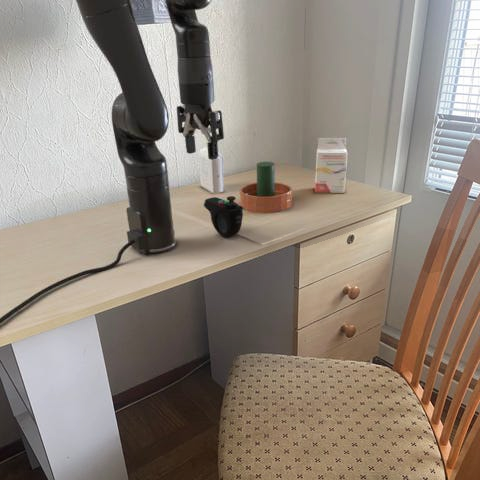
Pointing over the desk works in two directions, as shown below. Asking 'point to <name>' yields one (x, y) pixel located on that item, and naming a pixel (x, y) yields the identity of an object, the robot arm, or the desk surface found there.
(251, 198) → the bowl
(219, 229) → the controller
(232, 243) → the desk surface
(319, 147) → the ink cartridge box
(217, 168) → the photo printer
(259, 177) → the green cylinder
